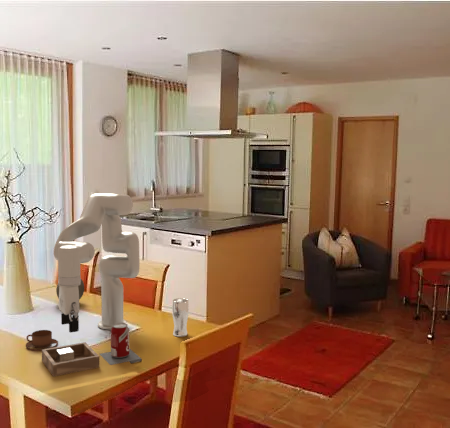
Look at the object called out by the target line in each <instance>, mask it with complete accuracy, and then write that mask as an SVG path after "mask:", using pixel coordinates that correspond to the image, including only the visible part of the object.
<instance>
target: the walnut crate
mask: <svg viewBox="0 0 450 428" xmlns="http://www.w3.org/2000/svg"><path fill="white" fill-rule="evenodd" d="M69 347H70V348H71V349H72V350H73V351H74V360H70V361H65V362H59V363H58V362H57V361H56V350H57V349H63V348H69ZM48 348H49V349H46V348H42V349H43V350H42V351H41V361H42V363H43V364H44V366H45V367H46V368H47V370H48V372H49V373H50V374H51V375H52V377H58V376H62V375H63V376H64V375H67V374H73V373H74V374H75V373H77V372H83V371H84V372H85V371H88V370H93V369H97V368H100V354H98V353H97V352H96V351H94V349H93V348H92V347H91V346H90V345H89V344H88V343H87V342H78V343H73V344H67V345H63V346H62V345H61V346H56V347H54V348H50V347H48Z"/></svg>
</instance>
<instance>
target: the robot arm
mask: <svg viewBox="0 0 450 428" xmlns="http://www.w3.org/2000/svg"><path fill="white" fill-rule="evenodd" d="M133 202H134V201H133V199H132V198H131V196H130V195H128V194H121V193H120V194H117V193H102V192H101V193H93V194H90V196H89V197H88V198H87V201H86V202H85V205H84V206H83V210H81V211H82V212H81V214H80V216H79V218H78V219H77V220H75V221H73V222H71V224H69V225H67V226H66V227H65V228H63V230H62V231H61V232H60V233H59V235H58V237H57V240H56V242H55V244H54V248H53V257H54V258H55V260H57V276H58V277H57V278H58V279H57V285H58V286H60V287H59V298H58V309H59V311H60V312H61V322H60V323H61V325H68V332H69V333H77V332H79V331H80V330H79V329H80V328H79V327H80V324H79V323H80V319H79V318H80V317H79V316H80V315H79V313H80V300H79V289H78V286H79V285H80V284H81V283H80V282H81V279H82V278H81V265H82V264H86V263H87V264H88V263H89V262H91V261H92V260H93V258H94V257H95V254H96V252H95V251H96V250H95V247H94V245H93V244H92V243H90V242H84V241H75V240H77V239H79V238H83V237H86V236H88V235H91V234H94V233H97V232H98V231H99V230H100V228H101V242H102V243H101V246H102V249H103V251H104V252H105V253H110V255H105V256H102V257H101V258H100V260H99V263H98V268H99V273H100V282H101V287H100V288H101V320H100V321H98V323H97V327H98V328H100V329H102V330H110V331H111V329H112V327H113V324H115V323H126V324H128V323H127V320H126V319H124V285H123V282H122V281H121V279H120V278H123V279H134V278H137V277H138V276H139V273H140V263H141V262H140V240H139V236H138V234H136V233H135V232H132V231H123V229H122V228H123V227H122V224H123V223H122V219H121V217H120V216H127V215H129V214H130V213H131V212H132V210H133ZM111 254H113V255H111ZM114 254H115V255H114ZM116 254H123V255H116Z"/></svg>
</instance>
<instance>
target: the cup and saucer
mask: <svg viewBox="0 0 450 428" xmlns="http://www.w3.org/2000/svg"><path fill="white" fill-rule="evenodd" d="M52 335H53V333H52V331H51V330H49V329H40V330H39V329H38V330H35V331H33V332H32V333H31V334H27V336H26V341H27V342H26V343H25V348H26V349H27V350H30V351H34V352H35V351H37V352H40V351H41V352H42V350H43V349H49V348H55V347H58V344H59V341H58V340H57V339H56V338H53V336H52ZM29 337H31V340H30V339H29ZM54 344H55V345H54ZM51 345H53V346H51ZM50 346H51V347H50Z"/></svg>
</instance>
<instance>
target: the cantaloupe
mask: <svg viewBox="0 0 450 428" xmlns="http://www.w3.org/2000/svg"><path fill="white" fill-rule="evenodd" d="M80 283H81V284H80V285H79V286H78V289H79V301H80V300H81V299H82V297H83V296H84V293H85V284H84V281H83V279H82V278H81V282H80ZM59 287H60V286H58V284H57V285H56V291H55V292H56V295H57V299H59Z"/></svg>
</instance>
